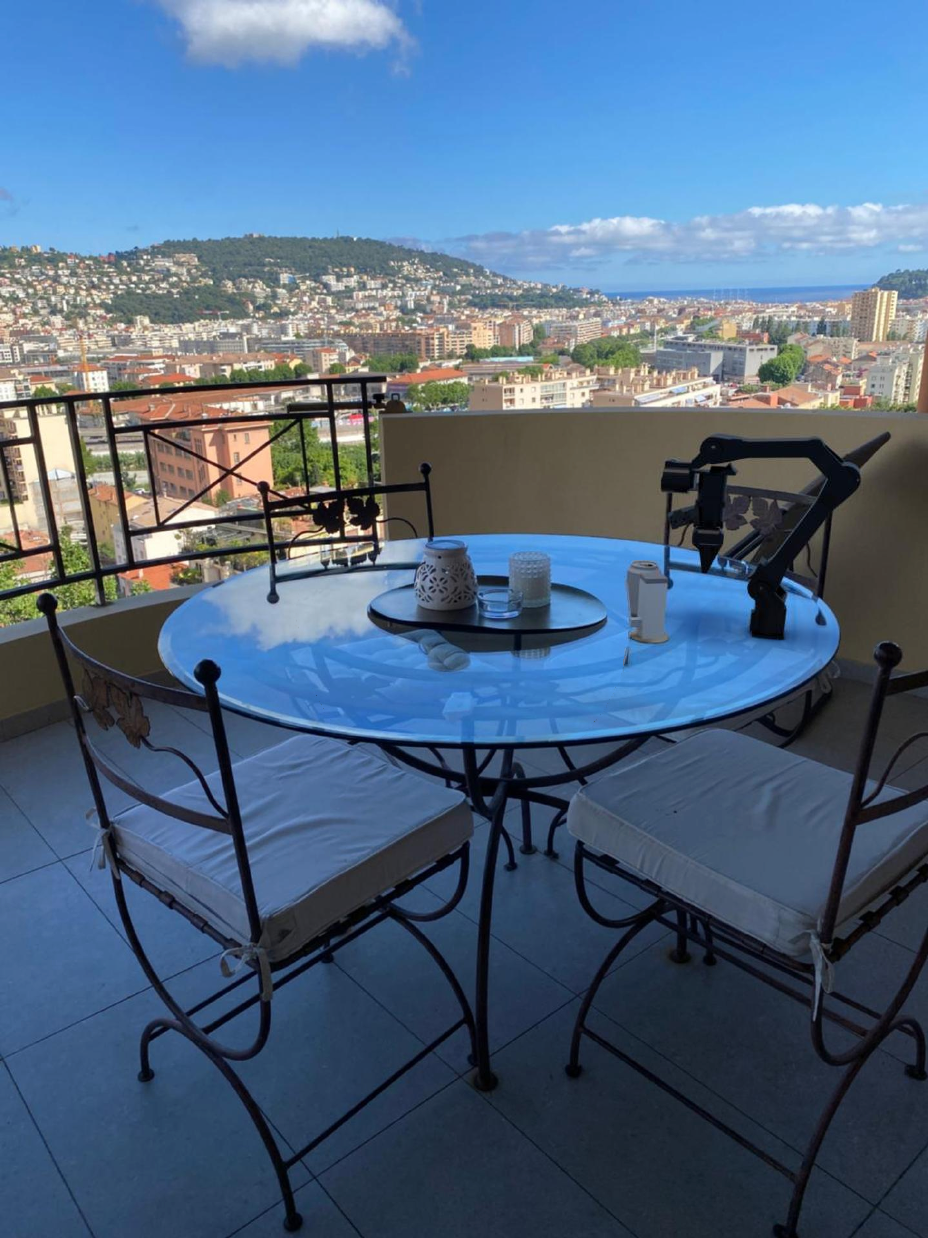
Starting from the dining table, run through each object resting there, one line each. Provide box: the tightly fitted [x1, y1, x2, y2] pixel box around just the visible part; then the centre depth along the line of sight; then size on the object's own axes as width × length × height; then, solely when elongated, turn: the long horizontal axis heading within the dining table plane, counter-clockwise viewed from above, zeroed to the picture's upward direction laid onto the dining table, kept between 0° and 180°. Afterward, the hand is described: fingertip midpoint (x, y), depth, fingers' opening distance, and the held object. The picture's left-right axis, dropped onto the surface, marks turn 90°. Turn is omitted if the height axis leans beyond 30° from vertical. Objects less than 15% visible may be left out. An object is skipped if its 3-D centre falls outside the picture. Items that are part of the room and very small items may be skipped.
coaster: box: [629, 629, 670, 644], centre depth 173 cm, size 8×8×1 cm
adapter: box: [630, 572, 669, 639], centre depth 171 cm, size 8×4×13 cm, turn 95°
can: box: [626, 559, 662, 617], centre depth 187 cm, size 8×8×12 cm
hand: (704, 567), depth 177 cm, fingers open, 9 cm apart
